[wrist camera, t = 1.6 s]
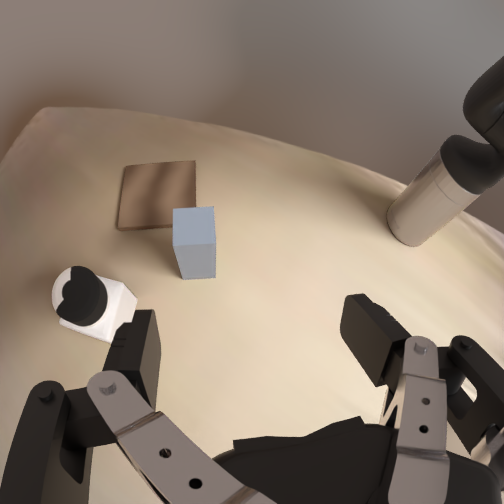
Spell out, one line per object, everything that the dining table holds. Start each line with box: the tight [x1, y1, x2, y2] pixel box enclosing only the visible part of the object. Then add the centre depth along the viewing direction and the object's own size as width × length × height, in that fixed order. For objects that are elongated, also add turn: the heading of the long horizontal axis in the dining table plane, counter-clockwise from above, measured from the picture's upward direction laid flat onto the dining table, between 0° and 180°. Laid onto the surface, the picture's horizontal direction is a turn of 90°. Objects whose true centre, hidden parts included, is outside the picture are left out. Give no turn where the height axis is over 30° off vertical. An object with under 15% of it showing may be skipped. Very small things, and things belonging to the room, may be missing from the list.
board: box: [118, 161, 196, 231], centre depth 44 cm, size 12×12×1 cm
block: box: [173, 206, 216, 280], centre depth 36 cm, size 4×4×11 cm
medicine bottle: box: [52, 266, 137, 343], centre depth 31 cm, size 7×7×12 cm
